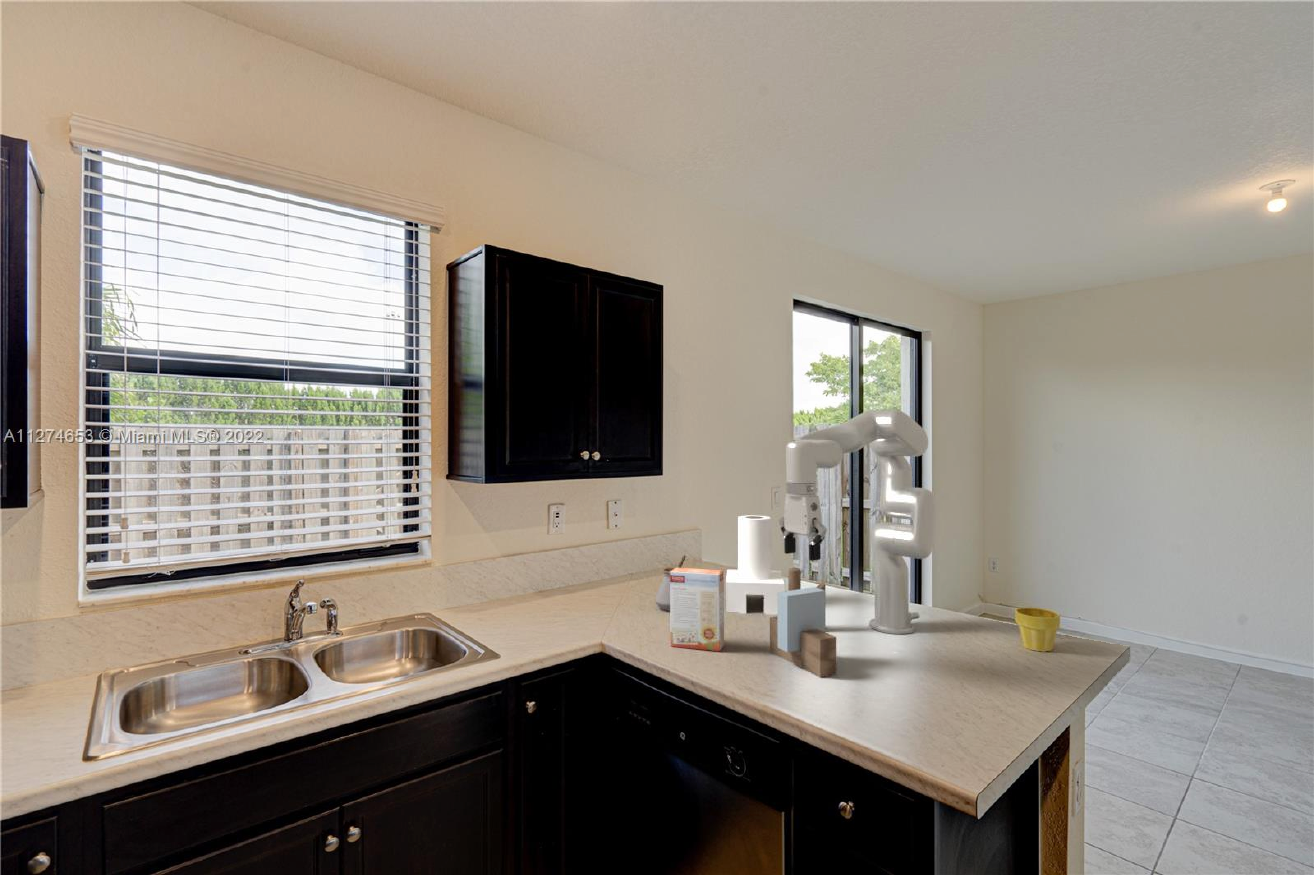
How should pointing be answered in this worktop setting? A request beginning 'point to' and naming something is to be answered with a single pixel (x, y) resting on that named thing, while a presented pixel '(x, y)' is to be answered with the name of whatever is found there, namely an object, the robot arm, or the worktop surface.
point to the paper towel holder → (753, 567)
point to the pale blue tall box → (799, 615)
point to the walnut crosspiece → (808, 650)
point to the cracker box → (697, 608)
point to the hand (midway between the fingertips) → (802, 556)
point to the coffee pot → (666, 588)
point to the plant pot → (1037, 627)
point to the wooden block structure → (798, 580)
